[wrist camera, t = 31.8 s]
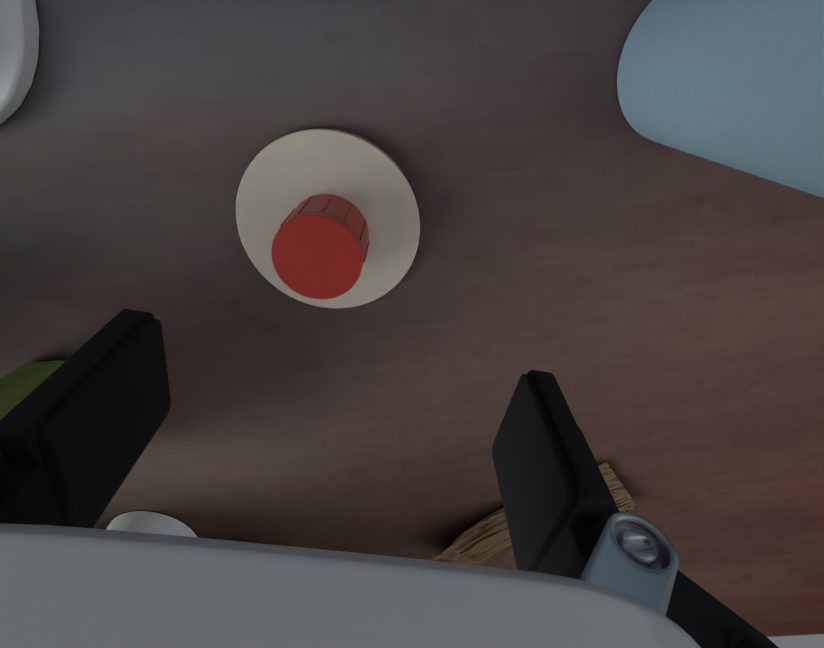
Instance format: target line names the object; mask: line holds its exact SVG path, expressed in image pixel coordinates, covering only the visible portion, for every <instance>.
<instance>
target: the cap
mask: <svg viewBox="0 0 824 648" xmlns="http://www.w3.org/2000/svg"><path fill="white" fill-rule="evenodd" d="M280 227H281V228H280V229H279V230H278V231H277V233H276V235H275V237H274V239H273V242H272V248H271V257H272V262H273V265H274V268H275V270H276V272H277V274H278V276H279V277H280V279H281V280H282V281H283V282H284V283H285V284H286V285H287V286H288V287H289V288H290V289H292V290H293V291H295V292H296V293H298V294H300V295H302V296H305V297H308V298H313V299H331V298H335V297H338V296H340V295H342V294H344V293H346V292H347V291H348V290H350V289H351V288H352V287H353V286H354V284H355V283H356V282H357V280H358V278H359V276H360V273H361V270H362V266H363V262H365V259H366V255H367V251H368V246H369V242H370V241H369V231H368V226H367V221H366V220H365V218H364V217H363V215H362V213H361V212H360V211H359V210H358V208H357V207H356V206H354V204H353V203H351V202H349V201H348V200H346V199H344V198H342V197H339V196H336V195H333V194H331V195H330V194H320V195H315V196H312V197H311V196H310V197H309V198H307V199H306V200H304V201H303V202H301V203H300V204H299V205H298V206H297V208H296V209H295V208H294V209H293V210H292V212H291V213H290V214H289V215H288V216H287V218H286V219H285V220H284V221H283V223H282V224H281V225H280Z"/></svg>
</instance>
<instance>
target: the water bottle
mask: <svg viewBox="0 0 824 648" xmlns="http://www.w3.org/2000/svg"><path fill="white" fill-rule="evenodd" d="M617 93H618V99H619V103H620V107H621V110H622V112H623V114H624V116H625V118H626V120H627V121H628V123H629V124H630V126H631V127H632V128H633V129H634V130H635V131H636V132H637V133H639V134H640V135H642V136H643V137H645V138H647V139H649V140H651V141H654V142H657V143H660V144H663V145H666V146H669V147H672V148H675V149H678V150H681V151H684V152H687V153H690V154H693V155H696V156H699V157H702V158H705V159H708V160H711V161H714V162H717V163H720V164H723V165H726V166H729V167H732V168H735V169H738V170H741V171H744V172H747V173H750V174H753V175H756V176H759V177H762V178H765V179H768V180H771V181H774V182H777V183H780V184H783V185H786V186H789V187H792V188H795V189H798V190H801V191H804V192H807V193H810V194H813V195H816V196H819V197H822V198H824V0H652V1H651V2H650V3H649V5H648V6H647V7H646V8H645V9H644V11H643V12H642V13H641V15H640V16H639V18H638V19H637V21H636V22H635V24H634V26H633V27H632V29H631V31H630V33H629V35H628V37H627V40H626V42H625V44H624V47H623V50H622V53H621V57H620V61H619V66H618V73H617Z"/></svg>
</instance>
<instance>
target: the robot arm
mask: <svg viewBox="0 0 824 648" xmlns="http://www.w3.org/2000/svg"><path fill="white" fill-rule="evenodd" d="M38 50H39V23H38V16H37V9H36V2H35V0H0V124H2V123H3V122H4V121H5V120H6V119H7V118H9V117H10V116H11V115H12V114H13V113H14V112H15V111H16V110H17V109H18V108H19V107H20V105H21V103H22V102H23V100H24V98H25V96H26V94H27V93H28V91H29V89H30V87H31V85H32V81H33V78H34V74H35V70H36V66H37V62H38ZM170 404H171V399H170V391H169V383H168V375H167V367H166V359H165V351H164V343H163V334H162V326H161V322H160V321H159V320H157V319H154V316H153V314H152V313H150V312H143V311H137V310H130V309H124V310H122V311H121V312H120V313H119V314H118V315H116V316H115V317H114V318H113V319H112V320H111V321H110V322H109V323H108V324H106V325H105V326H104V327H103V328H102V329H101V330H100V331H99V332H98V333H96V334H95V335H94V336H93V337H92V338H91V339H90V340H89V341H88V342H86V343H85V344H84V345H83V346H82V347H81V348H80V349H79V350H78V351H76V352H75V353H74V354H73V355H72V356H71V357H70V358H69V359H68V360H66V361H65V362H64V363H63V364H62V365H61V366H60V367H59V368H58V369H56V370H55V371H54V372H53V373H52V374H51V375H50V376H49V377H48V378H46V379H45V380H44V381H43V382H42V383H41V384H40V385H39V386H38V387H36V388H35V389H34V390H33V391H32V392H31V393H30V394H29V395H28V396H26V397H25V398H24V399H23V400H22V401H21V402H20V403H19V404H18V405H16V406H15V407H14V408H13V409H12V410H11V411H10V412H9V413H8V414H6V415H5V416H4V417H3V418H2V419H1V420H0V648H778V647H777V646H776V645H775V644H773V643H772V642H771V641H770V640H769V639H768V638H767V637H766V636H764V635H763V634H762V633H760V632H759V631H758V630H756V629H755V628H754V627H753V626H751V625H750V624H749V623H747V622H746V621H745V620H743V619H742V618H741V617H739V616H738V615H737V614H735V613H734V612H733V611H731V610H730V609H729V608H727V607H726V606H725V605H723V604H722V603H721V602H719V601H718V600H717V599H716V598H714V597H713V596H712V595H710V594H709V593H708V592H706V591H705V590H704V589H702V588H701V587H700V586H698V585H697V584H696V583H694V582H693V581H692V580H690V579H689V578H688V577H686V576H685V575H684V574H683V573H681V572H680V571H679V570H678V556H677V553H676V550H675V548H674V546H673V545H672V543H671V541H670V540H669V538H668V537H667V536H666V535H665V534H664V533H663V532H662V531H661V529H660V528H658V527H657V526H656V525H654V524H653V523H652V522H651V521H649V520H647V519H645V518H644V517H642V516H640V515H637V514H634V513H631V512H619V510H618V507H617V505H616V503H615V501H614V499H613V497H612V495H611V493H610V490H609V488H608V486H607V484H606V482H605V480H604V478H603V476H602V473H601V471H600V469H599V467H598V465H597V463H596V461H595V459H594V456H593V454H592V452H591V450H590V448H589V446H588V444H587V442H586V440H585V437H584V435H583V433H582V431H581V430H580V428H579V427H578V426H577V424H576V422H575V420H574V417H573V415H572V413H571V411H570V409H569V407H568V405H567V402H566V400H565V398H564V396H563V394H562V392H561V390H560V387H559V385H558V383H557V381H556V379H555V377H554V375H553V374H552V373H549V372H542V371H536V370H530V371H529V372H528V374H527V375H526V374H523V375H522V376H521V377H520V379H519V382H518V384H517V387H516V389H515V391H514V394H513V396H512V399H511V401H510V404H509V406H508V409H507V411H506V413H505V416H504V418H503V421H502V423H501V426H500V428H499V431H498V433H497V435H496V438H495V440H494V443H493V448H492V456H493V461H494V465H495V470H496V474H497V479H498V484H499V488H500V493H501V497H502V502H503V506H504V511H505V516H506V520H507V525H508V529H509V534H510V538H511V543H512V547H513V552H514V557H515V561H516V566H517V570H515V569H507V568H498V567H490V566H482V565H473V564H463V563H453V562H443V561H434V560H424V559H414V558H404V557H395V556H385V555H375V554H365V553H355V552H344V551H334V550H324V549H314V548H303V547H293V546H282V545H272V544H262V543H251V542H241V541H230V540H219V539H208V538H197V537H186V536H175V535H164V534H153V533H142V532H131V531H120V530H106V529H93V526H94V525H95V523H96V522H97V520H98V519H99V517H100V516H101V514H102V513H103V511H104V510H105V508H106V507H107V505H108V504H109V502H110V501H111V499H112V498H113V496H114V495H115V493H116V492H117V490H118V489H119V487H120V486H121V484H122V483H123V481H124V480H125V478H126V477H127V475H128V473H129V472H130V470H131V469H132V467H133V466H134V464H135V463H136V461H137V460H138V458H139V457H140V455H141V454H142V452H143V451H144V449H145V448H146V446H147V445H148V443H149V442H150V440H151V439H152V437H153V436H154V434H155V433H156V431H157V430H158V428H159V427H160V425H161V424H162V422H163V421H164V419H165V418H166V416H167V414H168V412H169V409H170Z"/></svg>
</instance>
